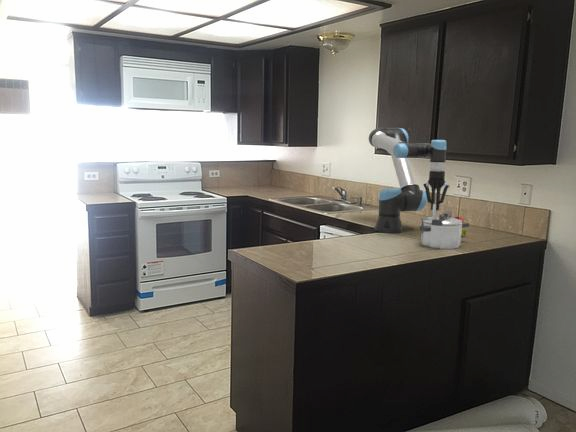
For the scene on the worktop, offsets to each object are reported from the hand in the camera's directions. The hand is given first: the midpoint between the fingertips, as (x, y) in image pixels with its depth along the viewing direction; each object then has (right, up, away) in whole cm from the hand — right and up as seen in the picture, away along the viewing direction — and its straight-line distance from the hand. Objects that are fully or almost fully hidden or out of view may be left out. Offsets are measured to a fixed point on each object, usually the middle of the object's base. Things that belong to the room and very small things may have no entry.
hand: (434, 216), depth 257 cm
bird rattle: (+14, -11, +8) cm, 19 cm away
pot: (+1, -14, -12) cm, 18 cm away
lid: (+1, -2, -12) cm, 12 cm away
